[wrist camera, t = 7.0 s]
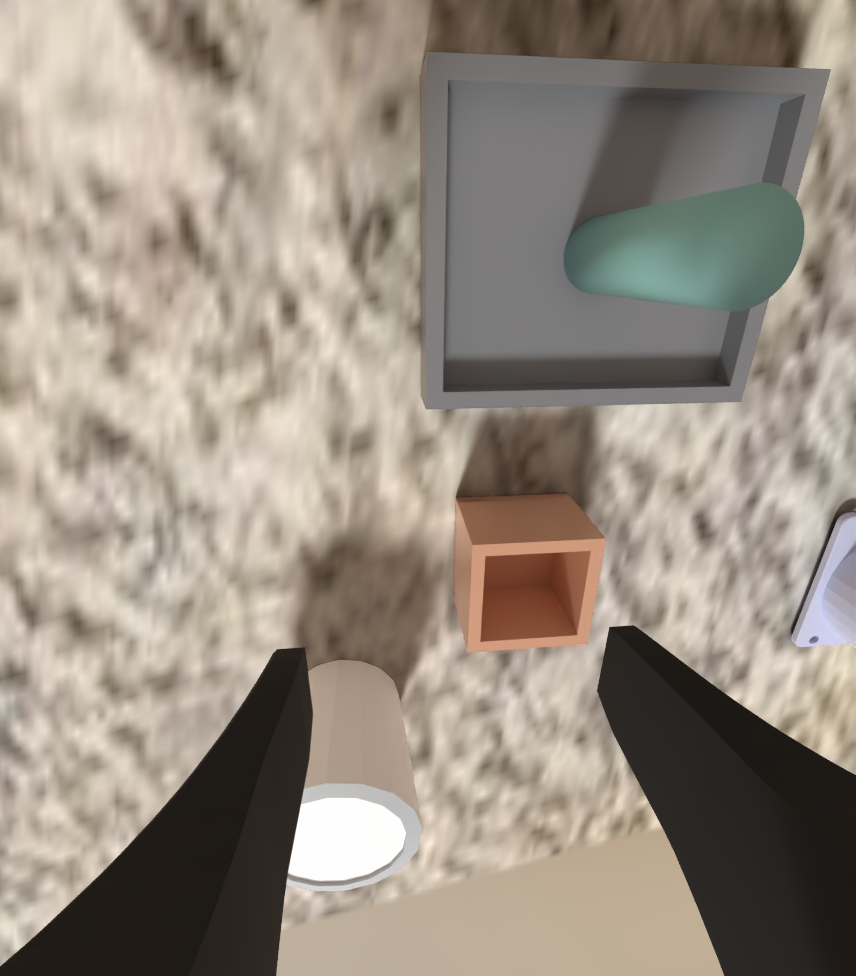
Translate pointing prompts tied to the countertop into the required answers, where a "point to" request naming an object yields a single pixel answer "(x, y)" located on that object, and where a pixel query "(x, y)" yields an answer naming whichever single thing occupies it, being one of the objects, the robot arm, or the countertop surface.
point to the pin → (692, 249)
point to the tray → (574, 199)
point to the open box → (524, 571)
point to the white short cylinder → (354, 783)
